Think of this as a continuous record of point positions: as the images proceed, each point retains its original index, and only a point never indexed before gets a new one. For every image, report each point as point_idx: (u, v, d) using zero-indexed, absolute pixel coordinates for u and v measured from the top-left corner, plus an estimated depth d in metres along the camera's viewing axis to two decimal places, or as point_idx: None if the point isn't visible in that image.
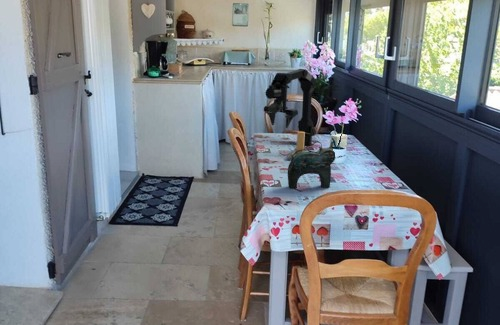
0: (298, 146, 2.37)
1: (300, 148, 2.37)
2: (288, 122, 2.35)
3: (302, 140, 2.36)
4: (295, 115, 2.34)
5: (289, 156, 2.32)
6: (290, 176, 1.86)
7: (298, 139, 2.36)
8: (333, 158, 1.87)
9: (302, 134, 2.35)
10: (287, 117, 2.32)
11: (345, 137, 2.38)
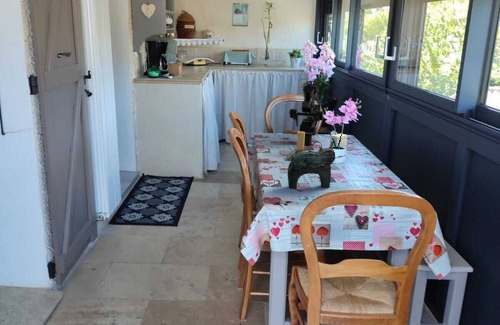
0: (298, 146, 2.37)
1: (300, 148, 2.37)
2: (314, 122, 2.46)
3: (302, 140, 2.36)
4: None
5: (289, 156, 2.32)
6: (290, 176, 1.86)
7: (298, 139, 2.36)
8: (333, 158, 1.87)
9: (302, 134, 2.35)
10: (315, 116, 2.46)
11: (345, 137, 2.38)
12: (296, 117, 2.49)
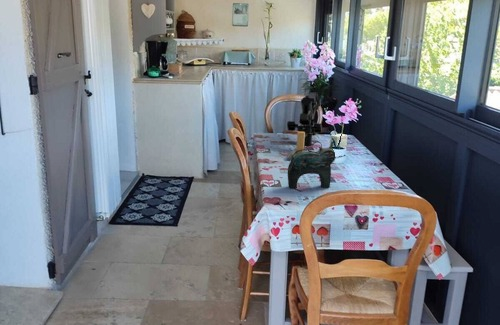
0: (298, 146, 2.37)
1: (300, 148, 2.37)
2: (305, 134, 2.44)
3: (302, 140, 2.36)
4: (310, 132, 2.47)
5: (289, 156, 2.32)
6: (290, 176, 1.86)
7: (298, 139, 2.36)
8: (333, 158, 1.87)
9: (302, 134, 2.35)
10: (306, 128, 2.43)
11: (345, 137, 2.38)
12: (301, 130, 2.44)
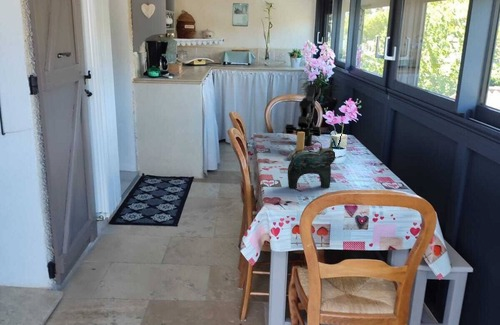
0: (298, 146, 2.36)
1: (300, 148, 2.36)
2: (304, 138, 2.39)
3: (302, 140, 2.35)
4: (309, 135, 2.43)
5: (289, 156, 2.32)
6: (290, 176, 1.86)
7: (298, 139, 2.35)
8: (333, 158, 1.87)
9: (302, 134, 2.34)
10: (305, 131, 2.39)
11: (345, 137, 2.38)
12: None
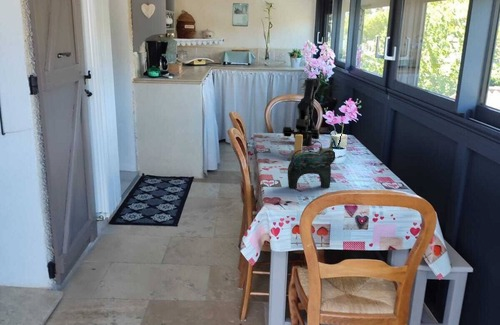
0: (296, 149, 2.30)
1: (298, 151, 2.30)
2: (302, 141, 2.33)
3: (300, 143, 2.28)
4: (307, 138, 2.36)
5: (289, 156, 2.32)
6: (290, 176, 1.86)
7: (296, 142, 2.29)
8: (333, 158, 1.87)
9: (300, 137, 2.28)
10: (303, 134, 2.32)
11: (345, 137, 2.38)
12: None
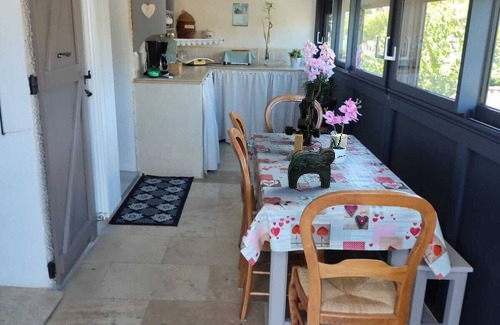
0: (296, 149, 2.30)
1: (298, 152, 2.30)
2: (303, 140, 2.38)
3: (300, 143, 2.28)
4: (309, 137, 2.41)
5: (289, 156, 2.32)
6: (290, 176, 1.86)
7: (296, 142, 2.29)
8: (333, 158, 1.87)
9: (300, 137, 2.27)
10: (305, 133, 2.37)
11: (345, 137, 2.38)
12: None
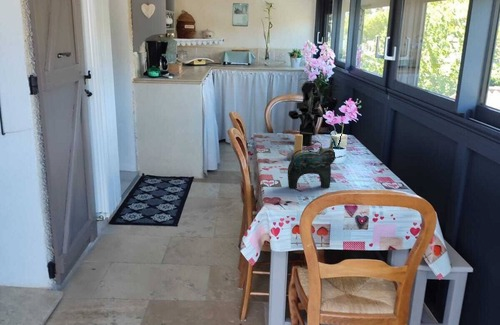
0: (296, 149, 2.30)
1: (298, 152, 2.30)
2: (306, 122, 2.45)
3: (300, 143, 2.28)
4: (312, 118, 2.47)
5: (289, 156, 2.32)
6: (290, 176, 1.86)
7: (296, 142, 2.29)
8: (333, 158, 1.87)
9: (300, 137, 2.27)
10: (306, 115, 2.44)
11: (345, 137, 2.38)
12: (301, 118, 2.46)
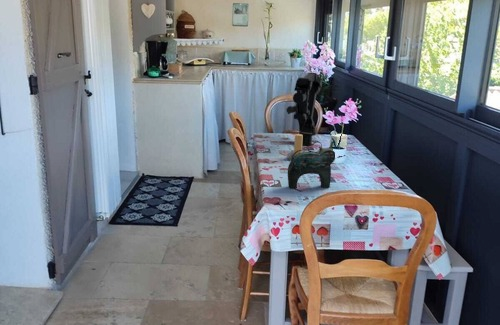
0: (296, 149, 2.30)
1: (298, 152, 2.30)
2: (300, 124, 2.45)
3: (300, 143, 2.28)
4: (305, 118, 2.41)
5: (289, 156, 2.32)
6: (290, 176, 1.86)
7: (296, 142, 2.29)
8: (333, 158, 1.87)
9: (300, 137, 2.27)
10: None
11: (345, 137, 2.38)
12: None
